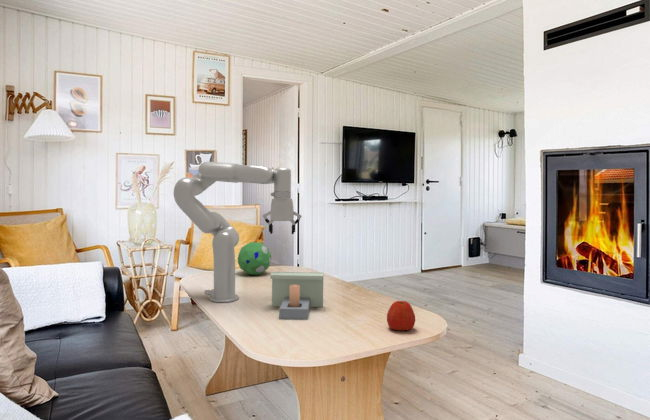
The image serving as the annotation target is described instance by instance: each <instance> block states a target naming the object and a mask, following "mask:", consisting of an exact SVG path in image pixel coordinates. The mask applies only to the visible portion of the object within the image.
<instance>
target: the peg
mask: <svg viewBox="0 0 650 420" xmlns="http://www.w3.org/2000/svg"><path fill="white" fill-rule="evenodd" d="M299 306H300V285H297V284H293V285H290V307H299Z"/></svg>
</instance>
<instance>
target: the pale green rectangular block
mask: <svg viewBox="0 0 650 420" xmlns="http://www.w3.org/2000/svg"><path fill="white" fill-rule="evenodd" d="M269 278H270V279H271V307H280V306H281V304H282V302H283V300H284V298H285V297H286V298H290V285H293V284H297V285H300V298H310V308H315V307H316V308H323V307H324V272H304V271H303V272H298V271H297V272H295V271H293V272H291V271H272V272H271V273H270V277H269Z"/></svg>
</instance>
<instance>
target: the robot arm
mask: <svg viewBox="0 0 650 420" xmlns="http://www.w3.org/2000/svg"><path fill="white" fill-rule="evenodd" d="M197 169H198V171H197V172H198V173H196V174H194V175H193V176H192V177H188V176H187V177H182V178H180V179H178V180H177V182H176V183H175V185H174V188H173V198H174V201H175V203H176V206H178V208H179V209H180V210H181V211H182V212H183V213H184V214H185V215H186V216H187V218H189V220H190V221H191V222H192V223H193V224H195V226H196V227H197V228H198V229H199V230H200V231H201V232H202V233H204V234H211V235H212V236H213V238H212V240H211V241H212V242H211V243H212V244H211V246H212V253H213V254H212V255H213V288H212V289H211V290H210V289H205V290H204V295H205V296H208V295H209V296H210V298H209V299H210V301H211V302H213V303H231V302H235V301H238V300H239V298H240V296H239V295H238V294H236V253H235V247H236V246H237V245H238V244H239V241H240V235H239V232H238V231H237V230H236V228H235V227H233V226H232V225H231V223H230V222H228V221H227V220H226V218H225V217H224V216H222V215H221V214H220V213H219V212H217V211H211V210H209V209H208V208H207V207H206V206H205V204H203V203H202V202H201V201H200V200H199V199H197V197H196V196H199V195H201V194H202V193H204V192H205V191H206V190H207V189H208V188H210V187H211V186H212V185H214V184H215V183H216V182H221V183H222V182H223V183H232V184H236V183H247V184H258V185H270V184H273V192H271V193H270V197H273V198H271V202H270V203H271V204H270V211H268V212H266V213H264V214H262V217H263V220H264V221H265V223H267V224H268V232H269V234H270V235H272V234H273V233H274V232H273V230H274V225H273V223H274V222H290V223H291V235H294V234H295V232H296V225H297V224H298V223H299V222H300V220H301V218H302V214H300V213H298V212H296V211H294V210H295V209H294V203H293V202H294V200H293V198H292V194H291V193H292V189H291V188H292V187H291V186H292V170H291V169H290V168H288V167H277V168H271V167H267V166H260V165H246V164H240V163H232V162H231V163H229V162H219V161H203V162H201V164H200V165H199V166H198V168H197ZM268 216H270V220H269V219H268ZM294 216H295V217H296V218H297V219H296V220H294V218H295V217H294Z"/></svg>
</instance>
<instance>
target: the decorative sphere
mask: <svg viewBox="0 0 650 420" xmlns="http://www.w3.org/2000/svg"><path fill="white" fill-rule="evenodd" d="M271 261H272V254H271V252H270V249H269V248H268V247H267V246H266V245H264V244H263V243H262V242H257V241H255V242H252V241H251V242H248V243H247V244H245V245H244V246H242V247H241V248H240V250H239V252H238V256H237V264H238V266H239V268H240V270H242V271H243V272H244V273H246V274H247V275H248V276H260V275H261V274H263V273H264V272H266V271H267V270H268V269H269V268H270V264H271Z"/></svg>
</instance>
